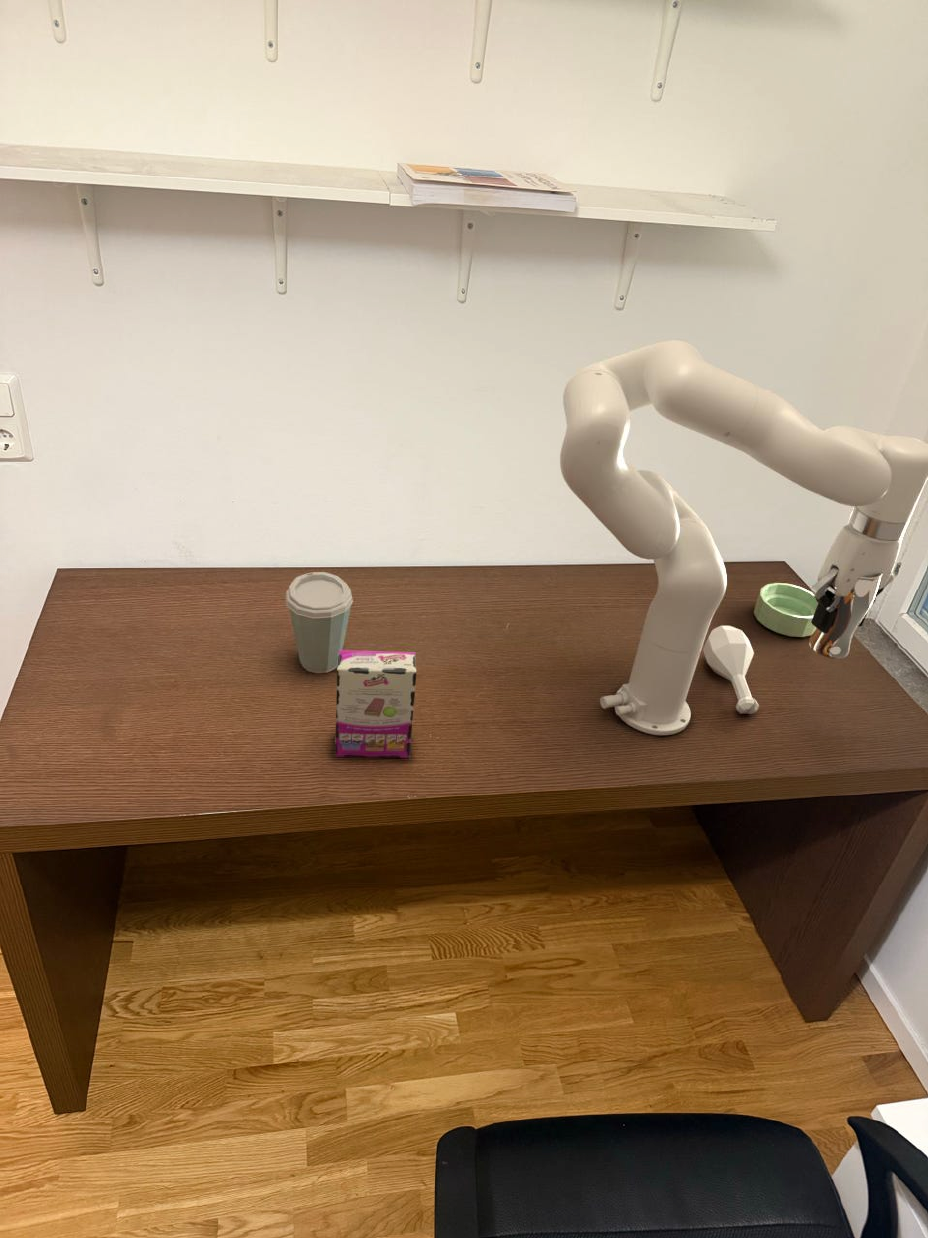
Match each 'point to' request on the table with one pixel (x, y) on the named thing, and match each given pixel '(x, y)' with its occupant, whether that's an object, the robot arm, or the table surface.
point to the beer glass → (845, 619)
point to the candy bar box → (374, 703)
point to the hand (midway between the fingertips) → (836, 624)
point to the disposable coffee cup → (319, 618)
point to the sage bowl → (786, 609)
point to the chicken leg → (732, 662)
